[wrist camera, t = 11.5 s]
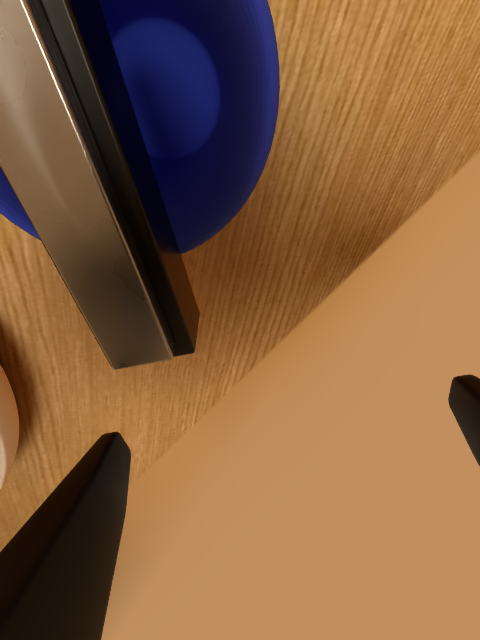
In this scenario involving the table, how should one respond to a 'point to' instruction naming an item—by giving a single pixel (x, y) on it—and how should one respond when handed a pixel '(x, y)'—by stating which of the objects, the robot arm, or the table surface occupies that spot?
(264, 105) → the mug
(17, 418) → the bowl
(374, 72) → the table surface
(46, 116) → the black and silver bar
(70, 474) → the robot arm
